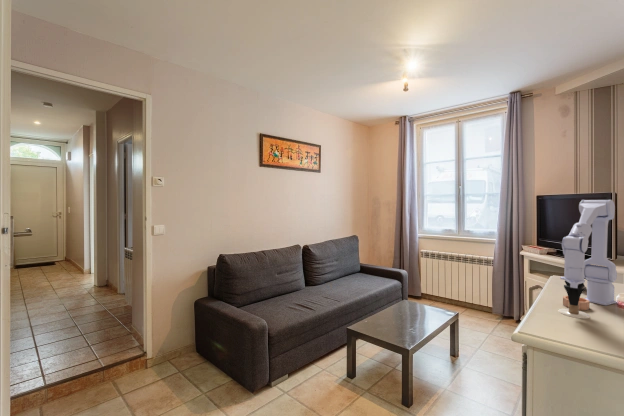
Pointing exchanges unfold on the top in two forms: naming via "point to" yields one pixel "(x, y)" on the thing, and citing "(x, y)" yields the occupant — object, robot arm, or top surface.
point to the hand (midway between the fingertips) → (573, 302)
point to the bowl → (582, 303)
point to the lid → (574, 312)
